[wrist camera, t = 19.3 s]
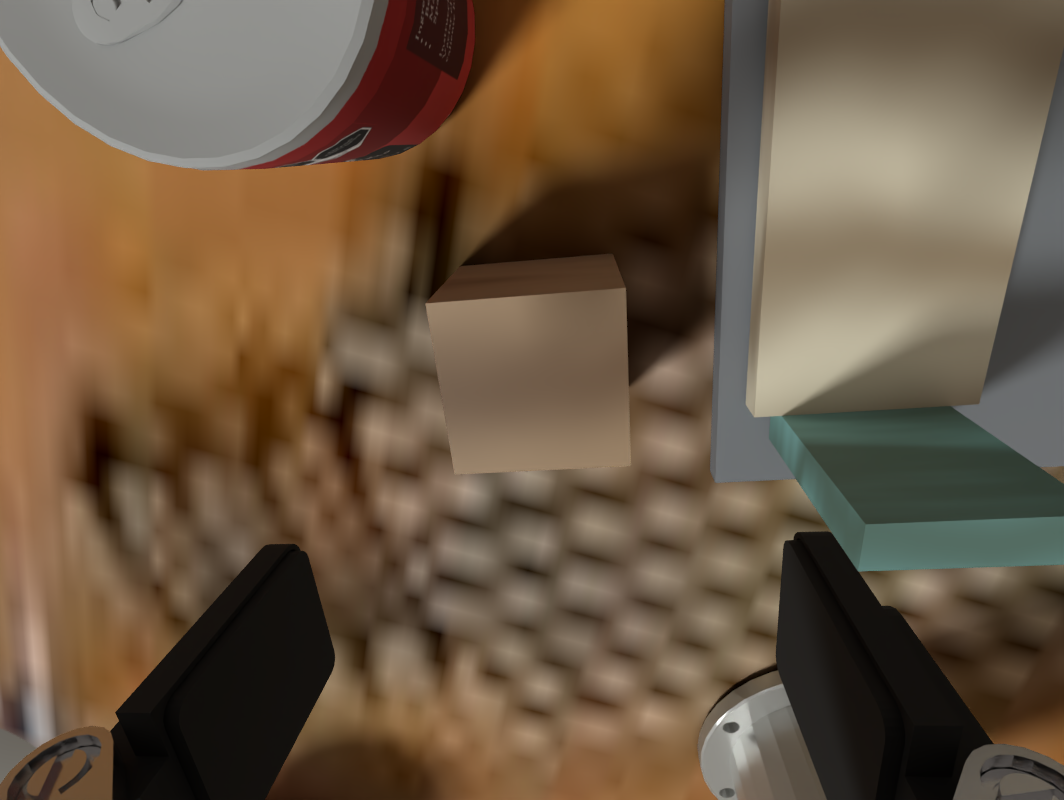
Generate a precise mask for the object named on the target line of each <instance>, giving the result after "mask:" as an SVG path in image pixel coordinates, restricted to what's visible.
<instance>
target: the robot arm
mask: <svg viewBox="0 0 1064 800" xmlns="http://www.w3.org/2000/svg"><path fill="white" fill-rule="evenodd" d="M334 662H335V653H334V649H333V645H332V641H331V638H330V634H329V630H328V627H327V623H326V620H325V616H324V612H323V609H322V605H321V601H320V598H319V594H318V591H317V587H316V583H315V580H314V576H313V572H312V569H311V565H310V562H309V558H308V555H307V553H306V552H304V551H301V550H300V548H299V547H298V546H297V545H295V544H269V545H266V546H264V547H263V548H262V549H261V550H260V551H259V552H258V553H257V554H256V556H255V557H254V558H253V559H252V560H251V561H250V562H249V563H248V565H247V566H246V567H245V568H244V569H243V570H242V571H241V572H240V573H239V575H238V576H237V577H236V578H235V579H234V580H233V581H232V582H231V584H230V585H229V586H228V587H227V588H226V589H225V590H224V591H223V593H222V594H221V595H220V596H219V597H218V598H217V599H216V600H215V601H214V603H213V604H212V605H211V606H210V607H209V608H208V609H207V610H206V612H205V613H204V614H203V615H202V616H201V617H200V618H199V619H198V621H197V622H196V623H195V624H194V625H193V626H192V627H191V628H190V629H189V631H188V632H187V633H186V634H185V635H184V636H183V637H182V638H181V640H180V641H179V642H178V643H177V644H176V645H175V646H174V647H173V649H172V650H171V651H170V652H169V653H168V654H167V655H166V656H165V657H164V659H163V660H162V661H161V662H160V663H159V664H158V665H157V666H156V668H155V669H154V670H153V671H152V672H151V673H150V674H149V675H148V677H147V678H146V679H145V680H144V681H143V682H142V683H141V684H140V685H139V687H138V688H137V689H136V690H135V691H134V692H133V693H132V694H131V696H130V697H129V698H128V699H127V700H126V701H125V702H124V703H123V704H122V706H121V707H120V708H119V709H118V710H117V711H116V712H115V713H116V715H117V717H118V719H119V722H118V723H117V724H116V725H115V726H114V728H113V729H112V730H111V731H110V732H109V731H108V730H107V729H105V728H104V727H96V726H89V727H83V728H78V729H75V730H72V731H69V732H67V733H64V734H61V735H59V736H57V737H55V738H54V739H52V740H50V741H48V742H46V743H44V744H42V745H41V746H40V747H38V748H37V749H35V750H34V751H33V752H31V753H30V754H29V755H27V756H26V757H25V758H23V760H22V761H20V762H19V763H18V764H17V765H16V766H15V767H14V768H13V769H12V770H11V771H10V772H9V773H8V775H7V776H6V777H5V778H4V780H3V781H2V783H1V784H0V800H265V798H266V796H267V794H268V793H269V791H270V789H271V787H272V785H273V783H274V781H275V779H276V777H277V775H278V774H279V772H280V770H281V768H282V766H283V764H284V762H285V760H286V758H287V756H288V755H289V753H290V751H291V749H292V747H293V745H294V743H295V741H296V739H297V737H298V736H299V734H300V732H301V730H302V728H303V726H304V724H305V722H306V720H307V718H308V717H309V715H310V713H311V711H312V709H313V707H314V705H315V703H316V701H317V699H318V698H319V696H320V694H321V692H322V690H323V688H324V686H325V684H326V682H327V680H328V679H329V677H330V675H331V673H332V670H333V667H334ZM776 662H777V668H778V670H777V671H773V672H770V673H767V674H765V675H762V676H760V677H757V678H755V679H753V680H750V681H749V682H747V683H745V684H743V685H742V686H740V687H738V688H737V689H735V690H733V691H732V692H731V693H730V694H728V695H727V696H726V697H725V698H724V699H723V700H721V701H720V702H719V703H718V704H717V705H716V706H715V707H714V709H713V710H712V711H711V712H710V714H709V715H708V716H707V718H706V720H705V722H704V724H703V726H702V728H701V730H700V734H699V740H698V755H699V761H700V766H701V770H702V774H703V777H704V780H705V782H706V784H707V786H708V787H709V789H710V791H711V792H712V793H713V794H714V795H715V796H716V797H717V798H718V799H719V800H1064V766H1063V765H1062V764H1060V763H1058V762H1056V761H1055V760H1053V759H1051V758H1049V757H1047V756H1045V755H1042V754H1040V753H1037V752H1034V751H1032V750H1029V749H1027V748H1023V747H1018V746H1013V745H1007V744H993V743H992V741H991V740H990V738H989V737H988V736H987V734H986V733H985V731H984V730H983V728H982V727H981V726H980V724H979V723H978V721H977V720H976V719H975V717H974V716H973V714H972V713H971V712H970V710H969V709H968V707H967V706H966V705H965V703H964V702H963V700H962V699H961V698H960V696H959V695H958V693H957V692H956V691H955V689H954V688H953V686H952V685H951V684H950V682H949V681H948V679H947V678H946V677H945V675H944V674H943V672H942V671H941V670H940V668H939V667H938V665H937V664H936V663H935V661H934V660H933V658H932V657H931V656H930V654H929V653H928V651H927V650H926V649H925V647H924V646H923V644H922V643H921V641H920V640H919V639H918V637H917V636H916V634H915V633H914V632H913V630H912V629H911V627H910V626H909V625H908V623H907V622H906V620H905V619H904V618H903V616H902V615H901V614H900V613H899V612H898V611H897V609H895V608H893V607H891V606H881V604H880V603H879V601H878V600H877V598H876V597H875V596H874V594H873V593H872V591H871V590H870V588H869V587H868V585H867V584H866V582H865V581H864V579H863V578H862V576H861V575H860V573H859V572H858V571H857V569H856V568H855V566H854V565H853V563H852V562H851V560H850V559H849V557H848V556H847V554H846V553H845V551H844V550H843V549H842V547H841V546H840V544H839V543H838V541H837V540H836V538H835V537H834V535H833V534H832V533H831V532H828V531H827V532H797V533H796V534H795V536H794V540H787V541H785V543H784V548H783V561H782V575H781V589H780V603H779V617H778V631H777V645H776Z"/></svg>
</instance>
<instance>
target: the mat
mask: <svg viewBox="0 0 1064 800" xmlns="http://www.w3.org/2000/svg"><path fill="white" fill-rule="evenodd" d="M768 2H769V0H725V14H724V46H723V78H722V110H721V142H720V174H719V206H718V238H717V270H716V302H715V334H714V366H713V397H712V429H711V461H710V471H711V474H712V476H713V479H714V481H715V483H721V482H741V481H762V480H783V479H796V478H795V477H794V475H793V474H792V472H791V471H790V469H789V468H788V466H787V465H786V463H785V462H784V460H783V459H782V457H781V456H780V454H779V453H778V451H777V450H776V449H775V447H774V446H773V444H772V443H771V441H770V440H769V428H770V417H754V416H753V415H752V413H751V412H750V410H749V409H748V407H747V406H746V388H747V370H748V353H749V335H750V318H751V300H752V283H753V265H754V248H755V230H756V212H757V195H758V177H759V160H760V142H761V125H762V107H763V90H764V72H765V55H766V37H767V19H768ZM951 407H952V408H954V409H955V410H957V411H958V412H960V413H961V414H963V415H964V416H966V417H967V418H968V419H970V420H971V421H973V422H974V423H976V424H977V425H979V426H980V427H982V428H983V429H984V430H986V431H987V432H989V433H990V434H992V435H993V436H995V437H996V438H997V439H999V440H1000V441H1002V442H1003V443H1005V444H1006V445H1008V446H1009V447H1011V448H1012V449H1013V450H1015V451H1016V452H1018V453H1019V454H1021V455H1022V456H1024V457H1025V458H1027V459H1028V460H1029V461H1031V462H1032V463H1034V464H1035V465H1037V466H1038V467H1052V466H1064V48H1063V52H1062V57H1061V61H1060V65H1059V69H1058V74H1057V78H1056V82H1055V86H1054V90H1053V95H1052V99H1051V103H1050V107H1049V112H1048V116H1047V120H1046V124H1045V128H1044V133H1043V137H1042V141H1041V145H1040V150H1039V154H1038V158H1037V162H1036V166H1035V171H1034V175H1033V179H1032V183H1031V188H1030V192H1029V196H1028V200H1027V204H1026V209H1025V213H1024V217H1023V221H1022V226H1021V230H1020V234H1019V238H1018V242H1017V247H1016V251H1015V255H1014V259H1013V264H1012V268H1011V272H1010V276H1009V280H1008V285H1007V289H1006V293H1005V297H1004V302H1003V306H1002V310H1001V314H1000V318H999V323H998V327H997V331H996V335H995V340H994V344H993V348H992V352H991V356H990V361H989V365H988V369H987V373H986V378H985V382H984V386H983V390H982V394H981V399H980V403H979V404H974V405H957V406H951Z"/></svg>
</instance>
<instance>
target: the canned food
mask: <svg viewBox="0 0 1064 800" xmlns="http://www.w3.org/2000/svg"><path fill="white" fill-rule="evenodd" d="M474 45H475V13H474V8H473V2H472V0H0V46H1V48H2V49H3V51H4V52H5V54H6V55H7V57H8V58H9V59H10V60H11V61H12V63H13V64H14V65H15V66H16V67H17V68H18V69H19V71H20V72H21V73H22V74H23V75H24V76H25V78H26V79H27V80H28V81H29V82H30V83H31V84H32V86H33V87H34V88H35V89H36V90H37V91H38V92H39V94H41V95H42V96H43V97H44V98H45V99H46V100H48V101H49V102H50V103H51V104H52V105H53V106H55V107H56V108H57V109H58V110H59V111H60V112H62V113H63V114H64V115H65V116H66V117H67V118H69V119H70V120H71V121H72V122H73V123H74V124H76V125H78V126H79V127H81V128H83V129H84V130H86V131H87V132H89V133H91V134H92V135H94V136H96V137H97V138H99V139H100V140H102V141H104V142H105V143H107V144H109V145H110V146H112V147H115V148H117V149H120V150H122V151H125V152H127V153H130V154H132V155H135V156H137V157H140V158H142V159H145V160H148V161H152V162H157V163H162V164H168V165H173V166H178V167H184V168H193V169H199V170H235V169H266V168H278V167H290V166H301V165H313V164H325V163H336V162H348V161H359V160H371V159H381V158H385V157H389V156H393V155H397V154H400V153H402V152H404V151H406V150H408V149H410V148H412V147H414V146H416V145H418V144H420V143H421V142H422V141H424V140H425V139H426V138H427V137H429V136H430V135H431V134H432V133H434V132H435V131H436V130H437V129H438V128H439V127H440V125H441V124H442V123H443V122H444V121H445V119H446V118H447V117H448V116H449V115H450V114H451V112H452V110H453V109H454V107H455V105H456V103H457V101H458V99H459V98H460V96H461V94H462V92H463V90H464V87H465V84H466V81H467V78H468V75H469V72H470V69H471V64H472V58H473V51H474Z"/></svg>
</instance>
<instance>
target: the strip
mask: <svg viewBox="0 0 1064 800" xmlns="http://www.w3.org/2000/svg"><path fill="white" fill-rule="evenodd" d="M1063 48H1064V0H769V2H768V19H767V37H766V55H765V72H764V90H763V107H762V125H761V142H760V160H759V177H758V195H757V212H756V230H755V248H754V265H753V283H752V300H751V318H750V335H749V353H748V370H747V388H746V406H747V407H748V409H749V410H750V412H751V413H752V415H753V416H754V417H770V428H769V440H770V441H771V443H772V444H773V446H774V447H775V449H776V450H777V451H778V453H779V454H780V456H781V457H782V459H783V460H784V462H785V463H786V465H787V466H788V468H789V469H790V471H791V472H792V474H793V475H794V477H795V478H796V480H797V481H798V483H799V484H800V486H801V487H802V489H803V490H804V492H805V493H806V495H807V496H808V498H809V499H810V501H811V502H812V504H813V505H814V507H815V508H816V510H817V511H818V512H819V514H820V515H821V517H822V518H823V520H824V521H825V523H826V524H827V526H828V527H829V529H830V530H831V532H832V533H833V535H834V536H835V538H836V539H837V541H838V542H839V544H840V545H841V547H842V548H843V550H844V551H845V553H846V554H847V556H848V557H849V559H850V560H851V562H852V563H853V565H854V566H855V568H856V569H857V570H858V571H882V570H913V569H944V568H974V567H1005V566H1035V565H1064V484H1063V483H1061V482H1060V481H1058V480H1057V479H1056V478H1054V477H1053V476H1051V475H1050V474H1048V473H1047V472H1045V471H1044V470H1043V469H1041V468H1040V467H1038V466H1037V465H1035V464H1034V463H1032V462H1031V461H1029V460H1028V459H1027V458H1025V457H1024V456H1022V455H1021V454H1019V453H1018V452H1016V451H1015V450H1013V449H1012V448H1011V447H1009V446H1008V445H1006V444H1005V443H1003V442H1002V441H1000V440H999V439H997V438H996V437H995V436H993V435H992V434H990V433H989V432H987V431H986V430H984V429H983V428H982V427H980V426H979V425H977V424H976V423H974V422H973V421H971V420H970V419H968V418H967V417H966V416H964V415H963V414H961V413H960V412H958V411H957V410H955V409H954V408H952V407H951V406H957V405H974V404H979V403H980V399H981V394H982V390H983V386H984V382H985V378H986V373H987V369H988V365H989V361H990V356H991V352H992V348H993V344H994V340H995V335H996V331H997V327H998V323H999V318H1000V314H1001V310H1002V306H1003V302H1004V297H1005V293H1006V289H1007V285H1008V280H1009V276H1010V272H1011V268H1012V264H1013V259H1014V255H1015V251H1016V247H1017V242H1018V238H1019V234H1020V230H1021V226H1022V221H1023V217H1024V213H1025V209H1026V204H1027V200H1028V196H1029V192H1030V188H1031V183H1032V179H1033V175H1034V171H1035V166H1036V162H1037V158H1038V154H1039V150H1040V145H1041V141H1042V137H1043V133H1044V128H1045V124H1046V120H1047V116H1048V112H1049V107H1050V103H1051V99H1052V95H1053V90H1054V86H1055V82H1056V78H1057V74H1058V69H1059V65H1060V61H1061V57H1062V52H1063Z"/></svg>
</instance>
